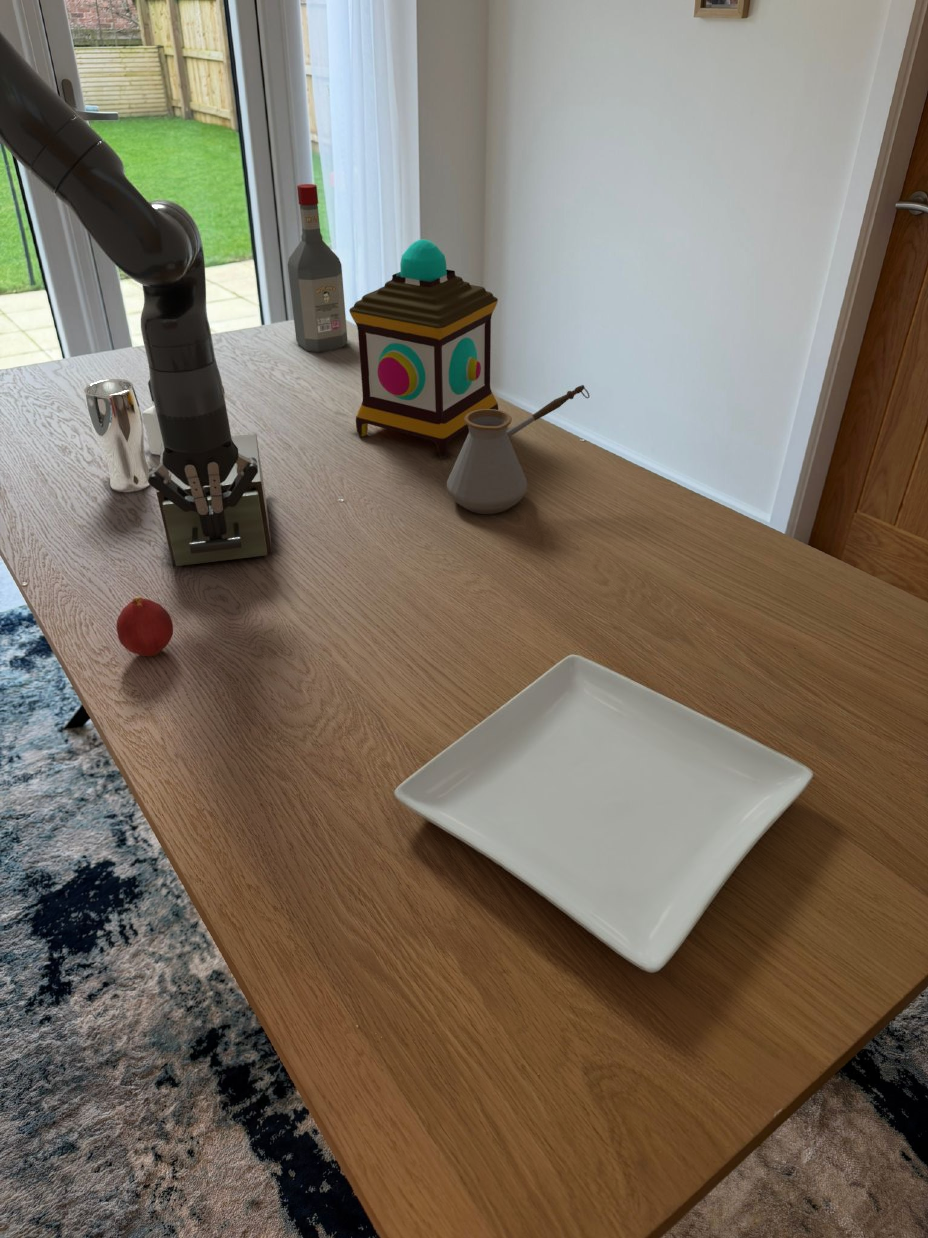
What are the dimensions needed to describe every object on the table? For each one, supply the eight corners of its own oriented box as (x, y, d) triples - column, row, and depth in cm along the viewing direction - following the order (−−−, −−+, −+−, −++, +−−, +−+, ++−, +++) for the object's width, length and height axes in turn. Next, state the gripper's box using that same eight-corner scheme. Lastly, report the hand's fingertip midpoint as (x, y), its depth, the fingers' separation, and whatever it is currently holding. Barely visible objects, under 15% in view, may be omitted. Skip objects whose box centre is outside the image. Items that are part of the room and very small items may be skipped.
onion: (123, 645, 101) (106, 586, 97) (175, 634, 103) (161, 576, 98) (126, 676, 97) (109, 615, 92) (181, 664, 98) (167, 604, 94)
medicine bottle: (189, 460, 140) (174, 387, 133) (150, 454, 142) (133, 381, 135) (213, 442, 146) (200, 370, 139) (175, 436, 147) (161, 365, 140)
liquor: (351, 347, 183) (339, 187, 165) (310, 355, 179) (292, 192, 162) (334, 335, 189) (320, 179, 172) (293, 342, 186) (275, 184, 168)
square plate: (810, 797, 82) (819, 767, 80) (648, 1006, 65) (655, 975, 63) (570, 673, 97) (573, 645, 94) (389, 818, 80) (387, 787, 78)
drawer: (269, 576, 111) (259, 514, 106) (174, 588, 109) (160, 525, 104) (262, 506, 126) (253, 448, 121) (179, 515, 124) (166, 457, 119)
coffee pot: (467, 528, 122) (467, 425, 114) (434, 493, 131) (431, 395, 122) (600, 497, 130) (610, 398, 121) (560, 465, 138) (567, 371, 129)
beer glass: (98, 491, 132) (72, 394, 123) (123, 471, 137) (100, 376, 128) (141, 496, 130) (117, 398, 122) (165, 476, 136) (143, 380, 127)
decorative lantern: (446, 465, 138) (442, 263, 121) (344, 438, 147) (327, 245, 129) (509, 421, 152) (514, 233, 135) (413, 398, 161) (406, 218, 143)
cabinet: (272, 554, 117) (261, 481, 111) (173, 566, 115) (156, 492, 109) (266, 502, 129) (256, 433, 123) (176, 512, 126) (161, 443, 120)
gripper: (125, 420, 95) (158, 559, 105) (252, 408, 97) (273, 545, 107) (130, 394, 101) (161, 528, 111) (249, 383, 103) (269, 515, 113)
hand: (216, 536), depth 109 cm, fingers closed
